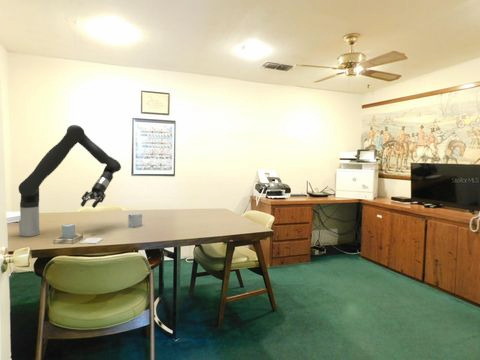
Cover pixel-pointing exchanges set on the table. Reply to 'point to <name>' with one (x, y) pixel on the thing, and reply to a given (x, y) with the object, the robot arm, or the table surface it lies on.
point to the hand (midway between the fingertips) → (87, 206)
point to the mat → (92, 240)
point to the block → (68, 231)
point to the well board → (68, 241)
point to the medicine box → (135, 220)
